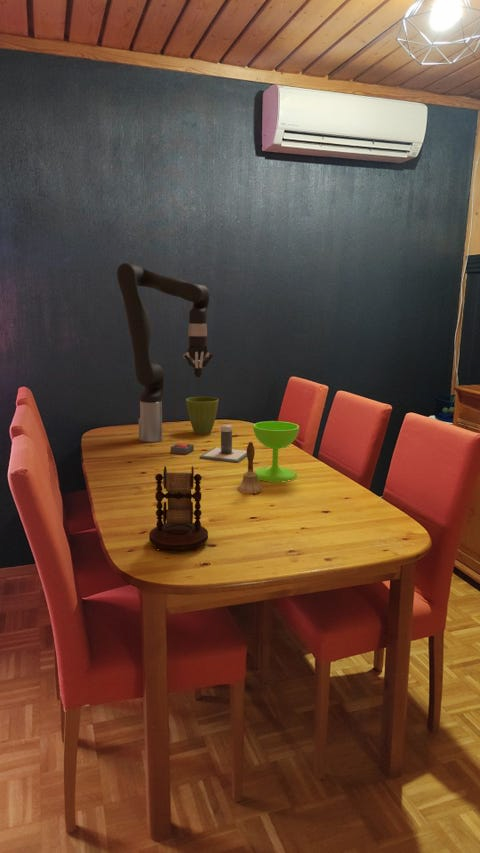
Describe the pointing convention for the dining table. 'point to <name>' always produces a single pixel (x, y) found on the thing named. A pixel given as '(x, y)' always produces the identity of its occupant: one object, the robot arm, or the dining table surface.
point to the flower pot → (202, 413)
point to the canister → (226, 439)
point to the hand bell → (250, 474)
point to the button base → (182, 449)
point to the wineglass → (275, 447)
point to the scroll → (178, 512)
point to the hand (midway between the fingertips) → (197, 377)
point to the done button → (182, 445)
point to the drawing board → (225, 455)
